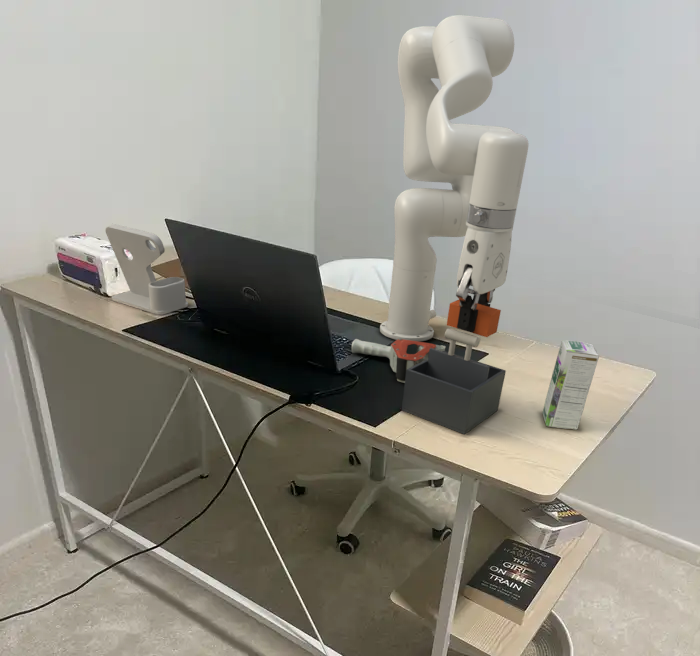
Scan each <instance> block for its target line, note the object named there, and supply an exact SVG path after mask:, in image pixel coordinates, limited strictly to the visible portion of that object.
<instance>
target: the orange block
mask: <svg viewBox="0 0 700 656" xmlns="http://www.w3.org/2000/svg"><path fill="white" fill-rule="evenodd" d="M459 303H460V300H459V299H457V300H454V301H452V302H450V303H449V306H448V314H447V320H446V326H447V327H450V328H454V329H456V330H459V329H458V328H457V324H458V317H459V311H460V306H459ZM476 309H477V310H478V315H477V321H476V326H475V331H474V332H472V333H471V334H474V335H478V336H480V337H484V338H488V337H491V336H492V335H494V334H496V333H498V327H499V322H500V318H501V312H502V310H501V309H499V308H495V307H492V306H490V307H488V306H484V305H481V304H477V308H476ZM466 332H468V331H466ZM468 333H469V332H468Z"/></svg>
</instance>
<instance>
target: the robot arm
mask: <svg viewBox="0 0 700 656" xmlns="http://www.w3.org/2000/svg"><path fill="white" fill-rule="evenodd" d="M514 52H515V36H514V33H513V29H512V27H511V25H510V24H509V23H508V22H507V21H506V20H505V19H501V18H498V17H497V18H496V17H488V16H487V17H486V16H476V15H468V14H454V15H450V16H447V17H446V18H443V19H442V20H441V21H440V22H439V23H438V24H437V26H432V25H424V26H423V25H421V26H417V27H412V28H410V29H408V30H407V31H405V32H404V34H403V35H402V37H401V39H400V42H399V46H398V53H397V73H398V81H399V85H400V91H401V95H402V99H403V105H404V106H403V107H404V122H403V129H404V130H403V148H402V149H403V152H402V153H403V154H402V160H403V161H402V163H403V165H402V166H403V171H404V174H405V177H407V178H408V179H409V180H412V181H416V182H424V183H425V182H426V183H427V182H429V183H445V184H446V183H447V184H450V186H451V188H452V189H447V188H446V189H442V188H429V187H428V188H427V187H417V188H416V187H414V188H408V189H405V190H404V191H402V192H400V193H399V194H398V196H397V197H396V199H395V202H394V208H393V211H394V212H393V215H394V217H393V218H394V251H393V261H392V272H391V279H390V280H391V281H390V290H389V291H390V292H389V300H388V301H389V302H388V311H387V312H388V313H387V320H385V321H383V322H382V323H380V325H379V332H380V333H381V334H382V336H384V337H387V338H388V339H391V340H395V341H396V340H398V339H404V340H411V341H418V342H426V341H428V340H431V339H433V337H434V333H435V330H434V328H433V327H432V326H431V325H429V321H430V320H432V319H434V318H436V317H437V312H436V311H435V310H434V309H431V306H432V298H433V293H434V285H435V278H436V277H435V276H436V270H437V261H438V260H437V253H436V251H435V249H434V248H433V246H432V245H431V243H430V242H429V239H430V238H434V237H435V238H436V237H440V238H441V237H442V238H462V237H464V240H463V244H462V248H461V253H460V257H459V262H458V266H457V267H458V268H457V274H456V287H457V290H456V293H455V297H457V299H458V300H460V303H459V306H460V311H459V317H458V324H457V328H458V329H457V328H456V329H457V330H460V331H464V332H467V331H468V333H471V334H473V333H472V332H474V331H475V326H476V321H477V315H478V310H477V309H476V308H477V304H481V305H484V306H488V307H491V303H492V302H493V297H494V292H495V291H496V289H499V288H500V287H502V286H503V285H504V284H505V283H506V280H507V276H508V269H509V262H510V256H511V249H512V236H513V230H514V224H515V220H516V219H515V218H516V214H517V209H518V204H519V198H520V193H521V189H522V183H523V178H524V172H525V168H526V162H527V158H528V157H527V156H528V152H529V140H528V138H527V137H526V136H525V135H524V134H521V133H518V132H515V131H514V130H513V129H511V128H509V127H505V126H498V125H484V124H472V123H470V124H469V123H454V122H452V121H451V120H454V119H456V118H459V117H461V116H465V115H466V114H468V113H471V112H473V111H475V110H476V109H478V108H479V107H481V106H482V105H483V104H485V102H486V101H487V100H488V98H489V97H490V95H491V93H492V90H493V83H494V82H493V81H494V80H493V78H495V77H497V76H500V75H502V74H503V73H504V72H505V71H506V70H507V69H508V68H509V66H510V64H511V62H512V60H513V56H514ZM432 79H438V80H439V83H440V87H441V88H440V89H439V88H438V87H437V85H436V84H435V82H434V81H433V80H432ZM470 287H472V288H470ZM470 294H471V295H470ZM472 295H473V297H472Z"/></svg>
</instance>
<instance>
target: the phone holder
mask: <svg viewBox="0 0 700 656" xmlns="http://www.w3.org/2000/svg"><path fill="white" fill-rule="evenodd" d="M105 234H106V237H107V239H108V242H109V244H110V246H111V248H112V251H113V253H114V256H115V258H116V261H117V263H118V265H119V268H120V270H121V272H122V274H123V277H124V279H125V283H126V284H127V286H128V289H129V290H127V291H124V292H121V293H117V294H113V295H111V301H112V302H116V303H119V304H123V305H125V306H129V307H132V308H136V309H138V310H141V311H145V312H147V313H151V314H154V315H159V316H160V315H166V314H169V313H173V312H176V311H179V310H182V309H184V308H186V307H189V302H188V301H187V297H186V281H185V279H184V278H183V277H178V276H171V277H166V278H163V279H159V280H157V279H156V277H155V274H154V273H155V272H154V271H153V268H152V264H153V263H154V262H156V260H157V259H158V258H159V257H161V256H162V255H163V254H164V253H165V250H166V249H165V246H164V243H163V241H162V240H161V238H160V237H159V235H157V234H155V233H153V232H149V231H145V230H141V229H137V228H133V227H127V226H125V225H121V224H117V223H111V224H109V225H108V226H106V227H105ZM152 243H153V244H152ZM125 250H127V251H128V252H129V253H130V254H131V256H132V259H130V258H129V255H128V254H126V252H125Z"/></svg>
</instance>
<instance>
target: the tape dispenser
mask: <svg viewBox="0 0 700 656" xmlns="http://www.w3.org/2000/svg"><path fill="white" fill-rule="evenodd" d="M411 345H416V351H415V353H407V350H408V347H409V346H411ZM430 348H433V349H436V350H440V351H446V348H447V346H446V345H438V344H434V343H430V342H425V341H420V342H418V341H411V340H404V339H398V340H395V341H393V342H392V343H391V344H390V346H389V345H385V344H381V343H377V342H372V341H371V342H370V341H364V340H361V339H358V338H355V339H354V340H353V341H352V342H351V353H352V354H362V355H369V356H375V357H382V358H388V360H389V366H390V368H391V370H392V371H393V372H394V373H395V378H396V380H397V382H399V383H402V384H405V378H406V370H407V369H409V368H411V367H413V366H414V365H416V364H418V363H420V362H422V361H424V360H426V359H428V356H429V349H430Z"/></svg>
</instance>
